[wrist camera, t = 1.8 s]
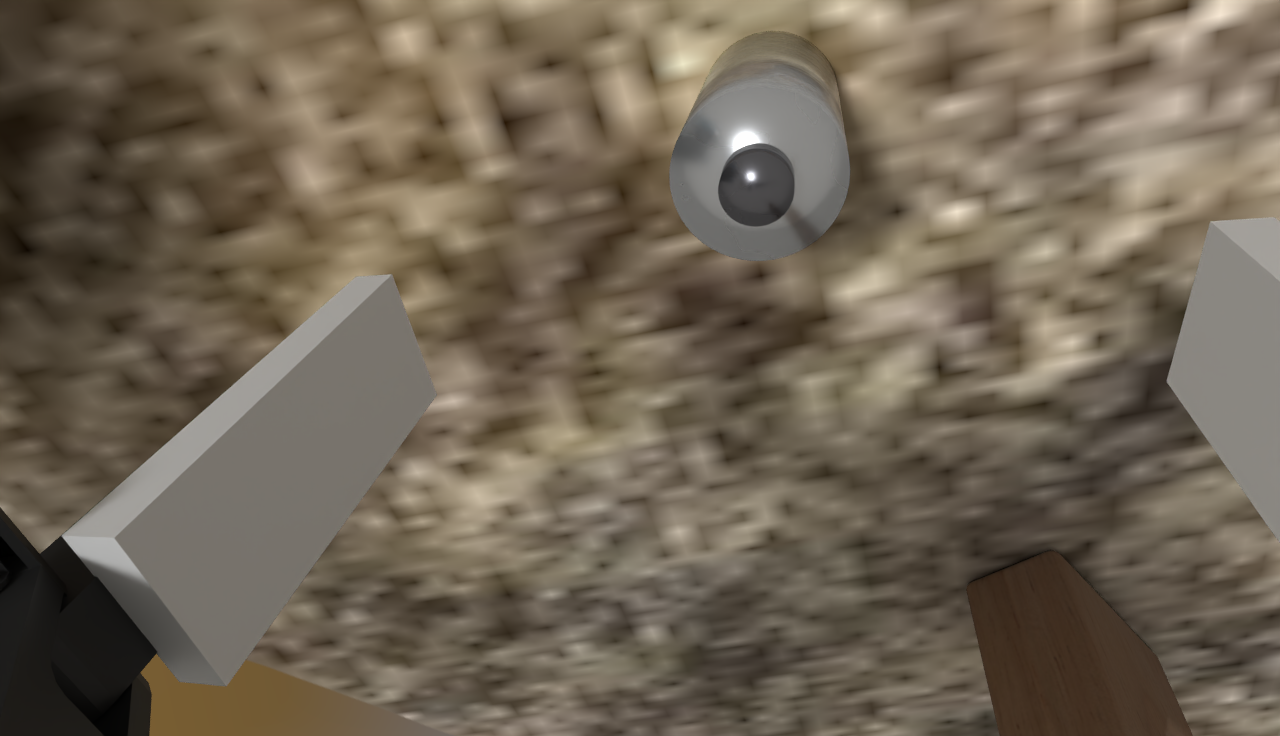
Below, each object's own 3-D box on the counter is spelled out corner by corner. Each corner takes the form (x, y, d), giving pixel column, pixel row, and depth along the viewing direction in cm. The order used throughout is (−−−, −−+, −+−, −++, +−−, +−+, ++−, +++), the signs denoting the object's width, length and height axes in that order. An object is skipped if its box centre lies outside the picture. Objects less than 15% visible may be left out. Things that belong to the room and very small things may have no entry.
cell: (709, 175, 26) (677, 279, 19) (694, 41, 23) (651, 107, 17) (839, 163, 24) (852, 268, 18) (837, 21, 22) (851, 83, 16)
